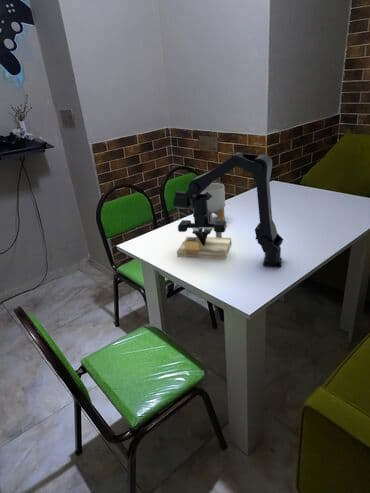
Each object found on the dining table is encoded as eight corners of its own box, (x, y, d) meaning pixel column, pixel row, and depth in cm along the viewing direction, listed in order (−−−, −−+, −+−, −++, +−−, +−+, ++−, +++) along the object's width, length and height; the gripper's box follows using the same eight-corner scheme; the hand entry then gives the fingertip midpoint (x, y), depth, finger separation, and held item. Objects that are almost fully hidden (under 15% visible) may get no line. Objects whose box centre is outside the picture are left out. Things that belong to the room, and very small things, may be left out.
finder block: (199, 250, 139) (198, 242, 137) (185, 249, 141) (184, 241, 139) (202, 244, 143) (201, 236, 141) (188, 244, 145) (187, 236, 143)
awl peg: (221, 241, 150) (220, 224, 147) (215, 240, 151) (214, 224, 147) (222, 238, 152) (221, 221, 149) (216, 238, 153) (215, 221, 150)
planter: (230, 218, 171) (229, 184, 163) (217, 228, 162) (214, 192, 155) (209, 215, 179) (206, 181, 171) (194, 224, 170) (191, 189, 162)
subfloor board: (225, 259, 135) (225, 253, 134) (177, 256, 141) (176, 251, 140) (231, 243, 147) (231, 237, 146) (186, 241, 153) (186, 236, 152)
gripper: (228, 202, 137) (230, 237, 144) (183, 202, 143) (187, 236, 150) (222, 212, 128) (225, 249, 135) (175, 212, 133) (180, 248, 140)
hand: (204, 245), depth 140 cm, fingers closed
